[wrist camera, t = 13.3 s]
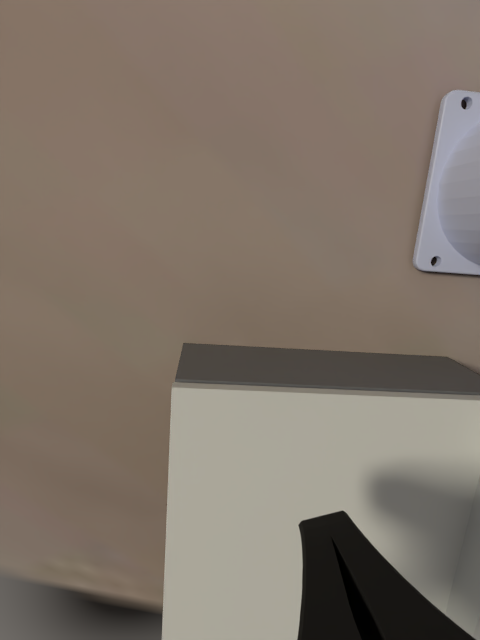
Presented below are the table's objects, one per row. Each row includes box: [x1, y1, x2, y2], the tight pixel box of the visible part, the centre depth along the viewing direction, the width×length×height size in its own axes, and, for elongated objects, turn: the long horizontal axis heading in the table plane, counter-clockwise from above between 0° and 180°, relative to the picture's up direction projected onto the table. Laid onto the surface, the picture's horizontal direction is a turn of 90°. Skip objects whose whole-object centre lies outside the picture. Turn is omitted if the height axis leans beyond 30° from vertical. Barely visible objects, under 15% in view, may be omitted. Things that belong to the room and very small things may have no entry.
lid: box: [162, 382, 480, 640], centre depth 16 cm, size 14×14×2 cm
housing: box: [175, 343, 480, 395], centre depth 20 cm, size 14×14×5 cm
